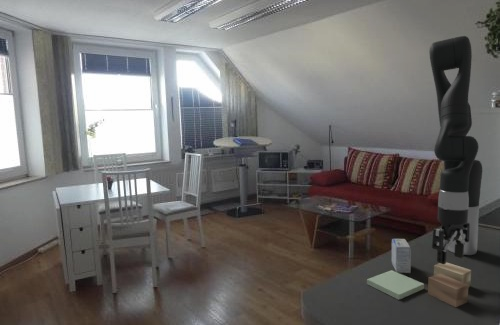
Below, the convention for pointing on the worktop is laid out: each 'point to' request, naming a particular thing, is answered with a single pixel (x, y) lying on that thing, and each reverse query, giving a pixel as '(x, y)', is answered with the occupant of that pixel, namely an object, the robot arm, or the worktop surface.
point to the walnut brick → (448, 290)
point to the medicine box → (401, 256)
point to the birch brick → (454, 272)
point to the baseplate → (395, 284)
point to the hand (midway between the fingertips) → (450, 260)
